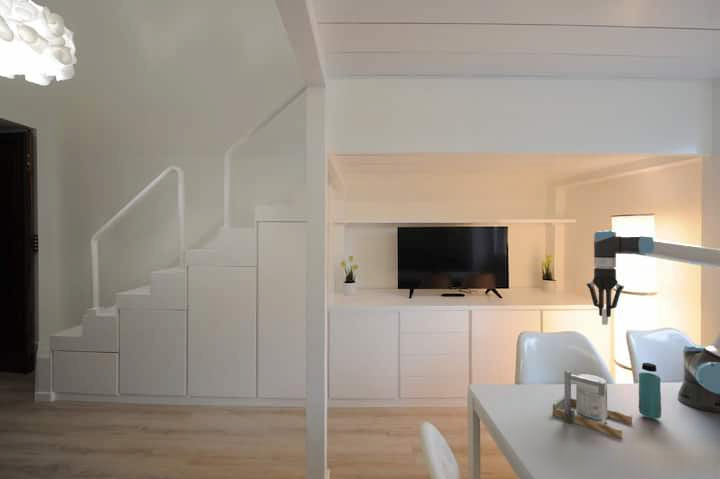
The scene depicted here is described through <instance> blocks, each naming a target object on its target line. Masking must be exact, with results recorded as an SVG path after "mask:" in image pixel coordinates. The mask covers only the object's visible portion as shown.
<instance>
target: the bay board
mask: <svg viewBox="0 0 720 479" xmlns="http://www.w3.org/2000/svg"><path fill="white" fill-rule="evenodd" d="M572 406H573V407H575V408H576V398H572V397H571V407H572ZM552 416H555V417H556V418H557V417H558V418H560V419H564V395H563V396H561V397H560V398H559V399H558V400H555V402H554V403H553V404H552ZM607 418H611V419H614V420H617V421H620V422H622V423H627V424H630V425H632V424H633V416H632V415H629V414H625V413H623V412H619V411H616V410H613V409H609V408H607ZM571 423H575V424H578V425H581V426H584V427H586V428H589V429H592V430H595V431H598V432H601V433H604V434H607V435H610V436H611V437H612V436H613V437H616V438H618V439H623V429H620V428H617V427H614V426H611V425H608V424H606V423H605V424H603V423H600V422H596V421H593V420H590V419H587V418H584V417H581V416H578V415H577V414H576V412H575V409H572V408H571Z"/></svg>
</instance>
